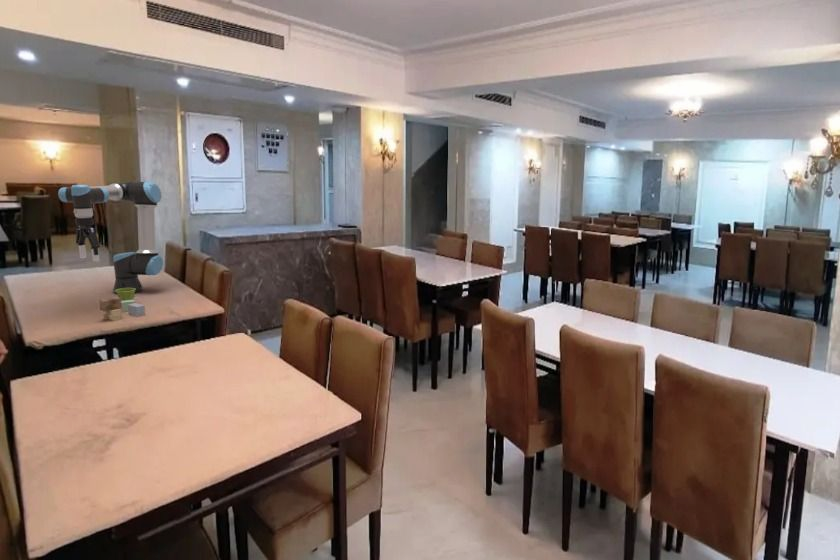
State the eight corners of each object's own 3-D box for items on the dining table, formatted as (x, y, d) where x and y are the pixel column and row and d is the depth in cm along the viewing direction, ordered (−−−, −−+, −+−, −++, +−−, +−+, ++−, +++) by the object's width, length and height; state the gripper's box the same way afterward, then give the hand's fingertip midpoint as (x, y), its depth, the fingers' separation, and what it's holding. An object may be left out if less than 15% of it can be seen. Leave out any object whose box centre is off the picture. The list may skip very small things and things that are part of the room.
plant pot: (123, 302, 277) (122, 287, 275) (140, 303, 277) (139, 287, 275) (113, 307, 268) (111, 291, 266) (130, 307, 268) (128, 291, 266)
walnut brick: (104, 311, 243) (103, 301, 242) (100, 310, 245) (99, 300, 244) (121, 308, 249) (120, 298, 248) (117, 306, 251) (116, 297, 250)
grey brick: (128, 314, 257) (127, 304, 256) (136, 312, 260) (135, 302, 259) (137, 316, 253) (136, 307, 252) (145, 314, 256) (144, 305, 255)
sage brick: (118, 312, 259) (117, 303, 258) (117, 310, 262) (116, 301, 261) (135, 310, 263) (134, 301, 262) (134, 308, 267) (133, 299, 266)
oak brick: (103, 318, 248) (102, 309, 247) (111, 316, 252) (110, 307, 251) (113, 321, 245) (112, 311, 244) (121, 319, 248) (120, 309, 247)
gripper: (64, 215, 251) (70, 257, 256) (87, 219, 237) (93, 264, 242) (80, 214, 257) (86, 255, 262) (104, 218, 243) (110, 261, 248)
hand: (89, 259), depth 252 cm, fingers open, 13 cm apart
